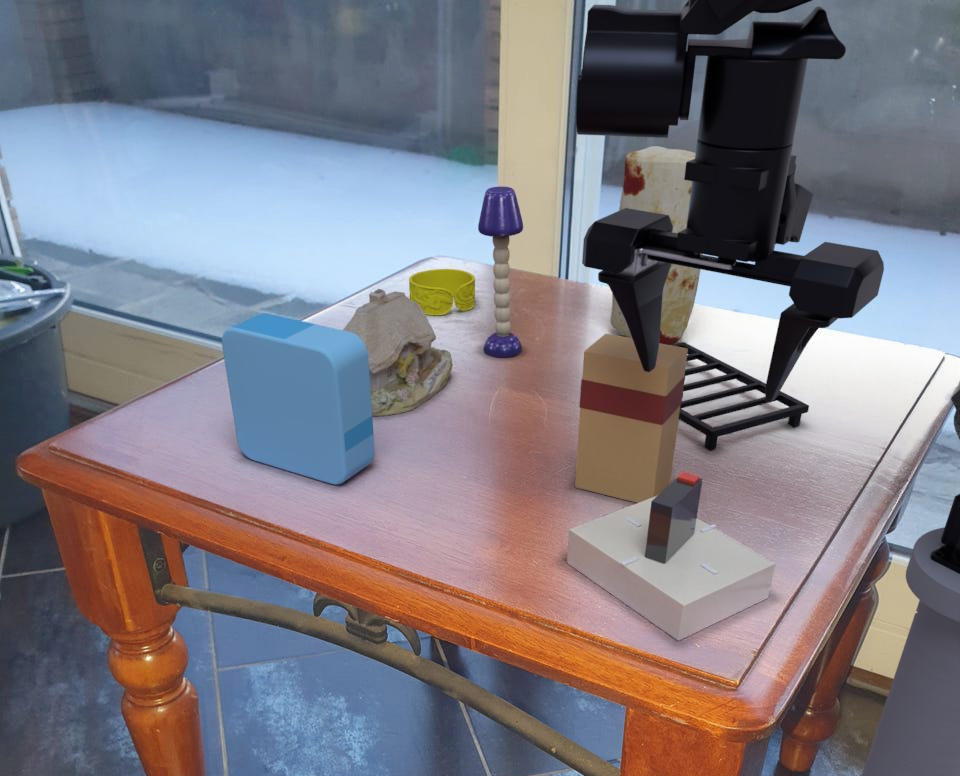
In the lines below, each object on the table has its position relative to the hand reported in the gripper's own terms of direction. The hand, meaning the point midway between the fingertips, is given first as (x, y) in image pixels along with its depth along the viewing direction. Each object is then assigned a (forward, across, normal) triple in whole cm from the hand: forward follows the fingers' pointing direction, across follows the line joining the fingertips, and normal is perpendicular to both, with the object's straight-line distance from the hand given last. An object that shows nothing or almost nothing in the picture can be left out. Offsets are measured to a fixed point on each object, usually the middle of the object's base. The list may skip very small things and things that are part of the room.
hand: (708, 384), depth 70 cm
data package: (+13, +33, +7) cm, 37 cm away
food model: (+13, +22, -38) cm, 46 cm away
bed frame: (+13, +11, -25) cm, 30 cm away
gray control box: (+10, -1, +6) cm, 12 cm away
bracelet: (+13, +48, -34) cm, 60 cm away
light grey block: (+13, -1, +6) cm, 14 cm away
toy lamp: (+13, +34, -25) cm, 45 cm away
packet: (+13, +8, -5) cm, 16 cm away
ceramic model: (+13, +38, -10) cm, 41 cm away
